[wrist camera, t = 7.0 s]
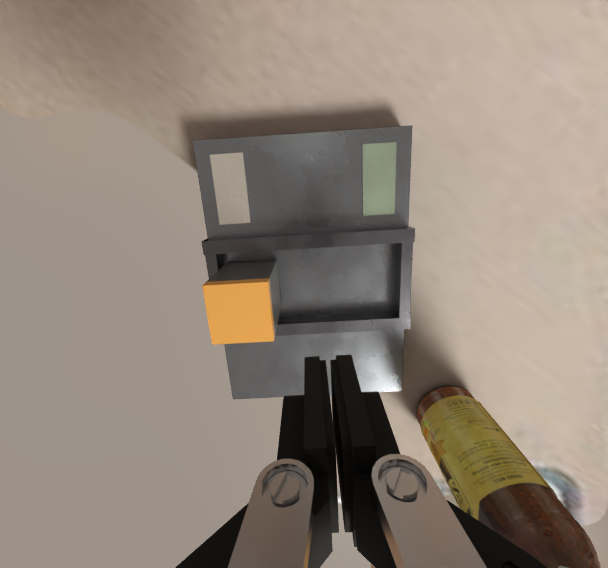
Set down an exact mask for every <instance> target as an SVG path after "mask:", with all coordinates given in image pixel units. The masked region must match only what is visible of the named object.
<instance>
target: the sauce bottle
mask: <svg viewBox="0 0 608 568" xmlns="http://www.w3.org/2000/svg"><path fill="white" fill-rule="evenodd" d="M417 418H418V421H419V424H420V427H421V431H422V434H423V436H424V438H425V440H426V442H427V444H428V446H429V448H430V450H431V452H432V454H433V456H434V458H435V460H436V462H437V464H438V466H439V468H440V470H441V472H442V474H443V476H444V478H445V480H446V482H447V484H448V486H449V488H450V490H451V492H452V494H453V496H454V498H455V500H456V502H457V504H458V506H459V508H460V509H461V510H463V511H464V512H466V513H467V514H469V515H470V516H472V517H473V518H475V519H477V520H478V521H480V522H481V523H483V524H484V525H486V526H487V527H489V528H490V529H492V530H493V531H495V532H496V533H498V534H500V535H501V536H503V537H504V538H506V539H507V540H509V541H510V542H512V543H513V544H515V545H516V546H518V547H519V548H521V549H522V550H524V551H526V552H527V553H529V554H530V555H532V556H533V557H534V558H536V559H537V560H538V561H540V562H541V563H542V564H543V565H545V566H546V567H547V568H558V567H559V566H564V567H568V568H600V563H599V561H598V557H597V553H596V551H595V548H594V546H593V544H592V542H591V540H590V538H589V537H588V535H587V534H586V532H585V531H584V529H583V528H582V527H581V526H580V524H579V523H578V522H577V521H576V520H575V519H574V518H573V516H572V515H571V514H570V513H569V512H568V510H567V509H566V508H565V507H564V506H563V504H562V503H561V502H560V501H559V499H558V498H557V496H556V494H555V492H554V491H553V489H552V488H551V487H550V486H549V485H548V483H547V482H546V481H545V480H544V479H543V477H542V476H541V475H540V474H539V473H538V472H537V470H536V469H535V468H534V467H533V466H532V464H531V463H530V462H529V461H528V460H527V458H526V457H525V456H524V455H523V454H522V452H521V451H520V450H519V449H518V448H517V446H516V445H515V444H514V443H513V442H512V440H511V439H510V438H509V437H508V436H507V434H506V433H505V432H504V431H503V430H502V428H501V427H500V426H499V425H498V424H497V423H496V421H495V420H494V419H493V418H492V417H491V416H490V414H489V413H488V412H487V411H486V410H485V408H484V407H483V406H482V405H481V403H480V402H477V401H476V400H475V399H474V397H473V396H472V395H471V394H470V393H469V392H468V391H466V390H464V389H462V388H459V387H451V386H446V387H441V388H437V389H434V390H433V391H431V392H429V393H428V394H427V395H426V396H425V397H424V398H423V399H422V400H421V402H420V403H419V405H418V410H417Z"/></svg>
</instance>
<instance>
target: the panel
mask: <svg viewBox="0 0 608 568" xmlns="http://www.w3.org/2000/svg"><path fill="white" fill-rule="evenodd" d="M411 145H412V126H399V127H384V128H370V129H355V130H341V131H326V132H312V133H298V134H283V135H269V136H254V137H240V138H225V139H211V140H197V141H193V146H194V152H195V159H196V165H197V172H198V178H199V184H200V190H201V197H202V203H203V210H204V216H205V223H206V229H207V236H208V239H206V240H204V241H202V247H203V253H204V255H205V257H206V263H207V269H208V275H209V279H210V278H211V277H212V276H213V275H214V274H215V273H216V272H218V271H219V270H220V269H221V268H222V267H223V266H224V265H225V264H226V263H233V262H250V261H267V260H277V267H278V279H279V290H280V301H281V310H280V314H279V319H278V324H277V329H276V333H275V338H274V341H271V342H252V343H233V344H224V345H225V351H226V358H227V364H228V370H229V377H230V383H231V390H232V396H233V399H249V398H268V397H269V398H270V397H284V396H291V395H304V359H305V357H314V356H319V357H320V360H326V367H327V376H328V385H329V394H330V395H332V389H331V365H330V360H335V359H336V355H352V359H353V362H354V366H355V370H356V374H357V377H358V381H359V385H360V389H361V392H374V391H377V392H394V391H402V372H403V347H404V329H410V324H411V317H410V296H411V274H412V252H413V242H414V238H415V228H412V227H409V226H408V220H409V195H410V170H411Z"/></svg>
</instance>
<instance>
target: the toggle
mask: <svg viewBox="0 0 608 568" xmlns="http://www.w3.org/2000/svg"><path fill="white" fill-rule="evenodd" d="M202 287H203V293H204V299H205V305H206V311H207V317H208V323H209V328H210V335H211V340H212V344H233V343H252V342H271V341H274V338H275V333H276V329H277V324H278V319H279V314H280V310H281V301H280V290H279V279H278V267H277V260H267V261H250V262H233V263H226V264H225V265H224V266H223V267H222V268H221V269H220V270H219V271H218V272H216V273H215V274H214V275H213V276H212V277H211V278H210V279H209V280H208V281H207V282H206V283H205V284H204V285H203V286H202Z"/></svg>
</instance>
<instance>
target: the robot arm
mask: <svg viewBox="0 0 608 568" xmlns="http://www.w3.org/2000/svg"><path fill="white" fill-rule="evenodd" d="M330 365H331V389H332V412H331V403H330V394H329V385H328V376H327V367H326V360H320V357H319V356H314V357H305V359H304V395H291V396H284V399H283V408H282V417H281V427H280V436H279V447H278V456H277V461H274V462H273V463H271V464H269V465H268V466H266V467H265V468H264V469H263V470H262V472H261V473H260V474H259V476H258V478H257V480H256V483H255V486H254V489H253V492H252V495H251V498H250V501H249V503H248V504H247V505H246V506H245V507H244V508H242V509H241V511H239V512H238V513H237V514H236V515H234V516H233V517H232V518H231V519H230V520H229V521H228V522H227V523H226V524H224V525H223V526H222V527H221V528H220V529H219V530H217V531H216V532H215V533H214V534H213V535H212V536H211V537H210V538H208V539H207V540H206V541H205V542H204V543H203V544H202V545H201V546H199V547H198V548H197V549H196V550H195V551H194V552H193V553H191V554H190V555H189V556H188V557H187V558H186V559H185V560H184V561H182V562H181V563H180V564H179V565H178V566H177V567H176V568H320V566H321V565H322V564H323V563H324V561H325V560H326V559H327V558H328V556H329V555H330V554H331V552H332V533H337V532H339V525H338V499H337V473H336V457H337V466H338V475H339V484H340V493H341V502H342V510H343V520H344V529H345V532H353V541H354V547H357V550H358V551H359V552H360V553H361V554H362V555H363V556H364V557H365V558H366V559H367V560H368V561H369V562H370V563H371V568H547V567H546V566H545V565H543V564H542V563H541V562H540V561H538V560H537V559H536V558H534V557H533V556H532V555H530V554H529V553H527V552H526V551H524V550H522V549H521V548H519V547H518V546H516V545H515V544H513V543H512V542H510V541H509V540H507V539H506V538H504V537H503V536H501V535H500V534H498V533H496V532H495V531H493V530H492V529H490V528H489V527H487V526H486V525H484V524H483V523H481V522H480V521H478V520H477V519H475V518H473V517H472V516H470V515H469V514H467V513H466V512H464V511H463V510H461V509H460V508H458V507H457V506H455V505H454V504H452V503H451V502H449V501H447V500H446V499H445V497H444V496H443V494H442V492H441V491H440V489H439V487H438V486H437V484H436V482H435V481H434V479H433V477H432V476H431V474H430V473H429V471H428V470H427V469H426V468H425V466H423V465H422V464H421V463H420V462H418V461H417V460H415V459H413V458H411V457H409V456H406V455H401V454H400V452H399V449H398V446H397V443H396V440H395V437H394V435H393V432H392V429H391V426H390V423H389V420H388V417H387V414H386V412H385V409H384V406H383V403H382V400H381V397H380V395H379V392H377V391H374V392H361V389H360V385H359V381H358V377H357V374H356V370H355V366H354V362H353V359H352V355H336V359H335V360H330ZM332 413H333V420H332ZM335 448H336V451H335ZM558 568H568V567H564V566H559V567H558Z"/></svg>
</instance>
